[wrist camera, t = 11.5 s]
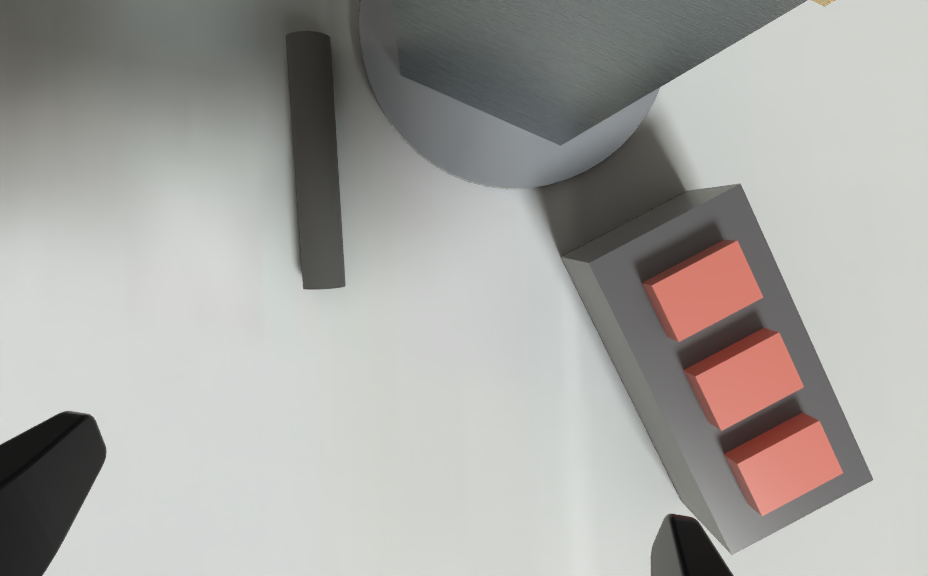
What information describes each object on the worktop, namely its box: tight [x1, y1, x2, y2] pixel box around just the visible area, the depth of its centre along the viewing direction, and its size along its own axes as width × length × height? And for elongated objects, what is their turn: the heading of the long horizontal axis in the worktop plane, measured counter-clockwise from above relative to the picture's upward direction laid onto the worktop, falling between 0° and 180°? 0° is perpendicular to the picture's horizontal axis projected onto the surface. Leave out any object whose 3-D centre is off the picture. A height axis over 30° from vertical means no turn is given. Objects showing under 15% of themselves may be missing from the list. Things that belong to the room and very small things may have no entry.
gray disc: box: [359, 0, 660, 189], centre depth 18 cm, size 9×9×1 cm
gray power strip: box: [561, 184, 873, 555], centre depth 17 cm, size 9×4×4 cm, turn 27°
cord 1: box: [286, 31, 345, 289], centre depth 17 cm, size 7×1×1 cm, turn 2°
